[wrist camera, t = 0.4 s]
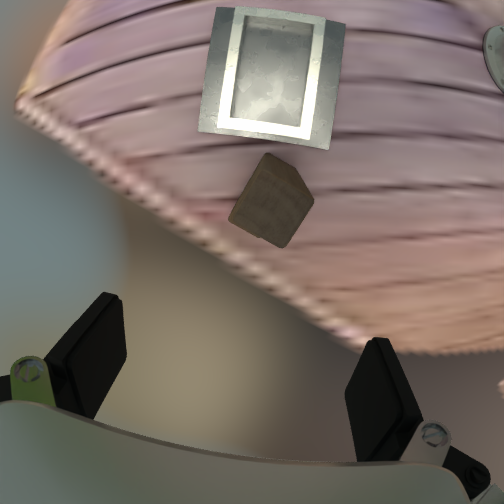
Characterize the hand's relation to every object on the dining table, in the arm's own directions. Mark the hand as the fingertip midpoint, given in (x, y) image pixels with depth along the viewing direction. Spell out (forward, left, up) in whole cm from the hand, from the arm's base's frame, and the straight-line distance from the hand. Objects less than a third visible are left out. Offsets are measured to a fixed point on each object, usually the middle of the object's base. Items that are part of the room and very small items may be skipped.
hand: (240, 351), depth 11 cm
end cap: (+1, -15, -31) cm, 34 cm away
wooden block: (0, 0, -31) cm, 31 cm away
